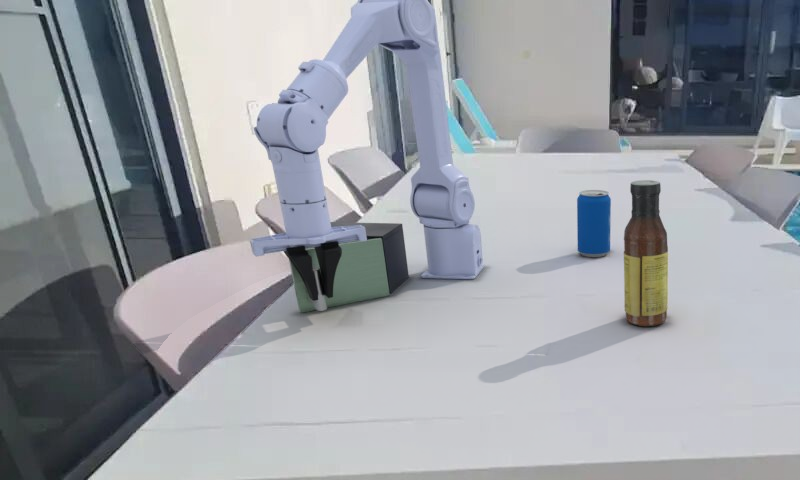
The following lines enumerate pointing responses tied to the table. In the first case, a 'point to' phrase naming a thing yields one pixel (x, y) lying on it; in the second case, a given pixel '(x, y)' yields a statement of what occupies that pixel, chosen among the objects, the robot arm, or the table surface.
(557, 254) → the table surface
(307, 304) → the machine door
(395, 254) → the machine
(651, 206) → the sauce bottle
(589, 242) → the beverage can
